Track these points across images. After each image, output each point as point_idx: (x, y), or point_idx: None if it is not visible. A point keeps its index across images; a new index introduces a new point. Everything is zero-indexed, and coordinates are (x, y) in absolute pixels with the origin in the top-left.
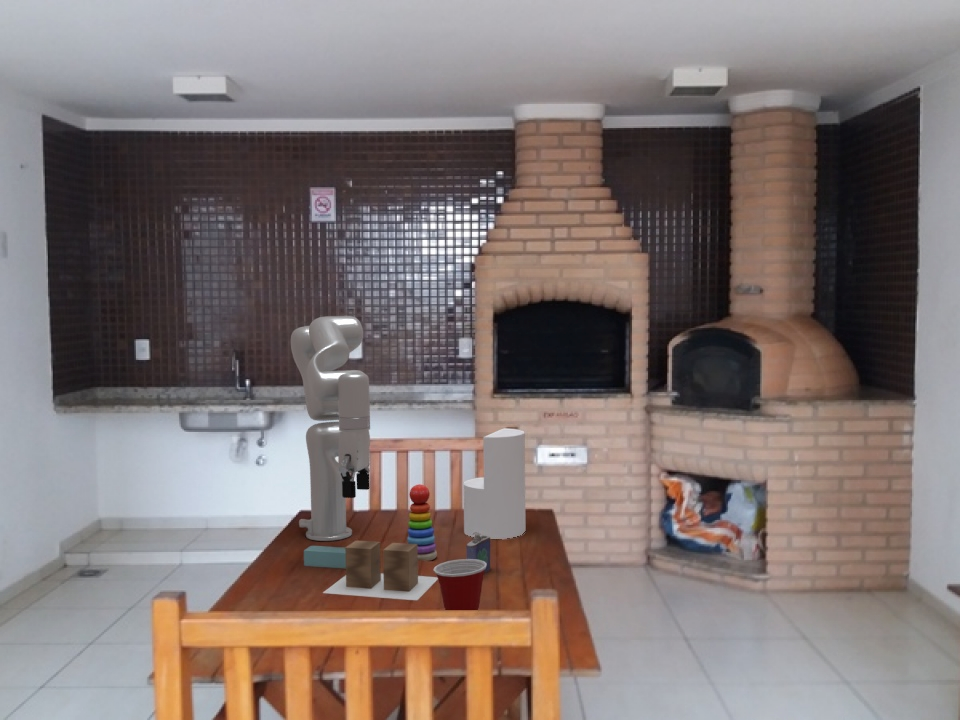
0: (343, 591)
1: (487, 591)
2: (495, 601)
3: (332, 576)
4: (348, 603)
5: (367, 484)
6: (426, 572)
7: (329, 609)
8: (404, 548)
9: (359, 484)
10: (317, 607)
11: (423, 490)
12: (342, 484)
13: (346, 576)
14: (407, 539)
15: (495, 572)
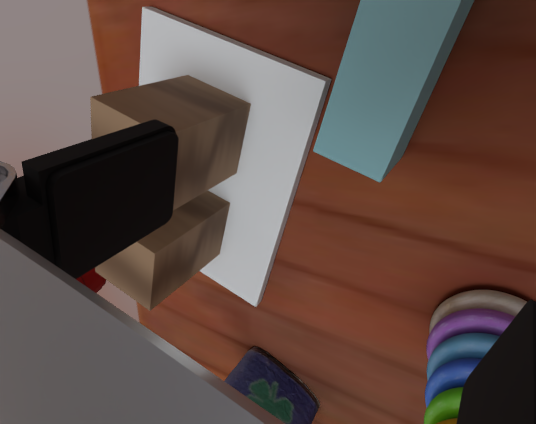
0: (157, 69)
1: (210, 353)
2: (169, 342)
3: (328, 5)
4: (128, 84)
5: (458, 420)
6: (333, 298)
7: (94, 40)
8: (113, 269)
9: (514, 357)
10: (97, 5)
11: None
12: (60, 154)
13: (166, 81)
14: (487, 339)
15: (315, 419)
